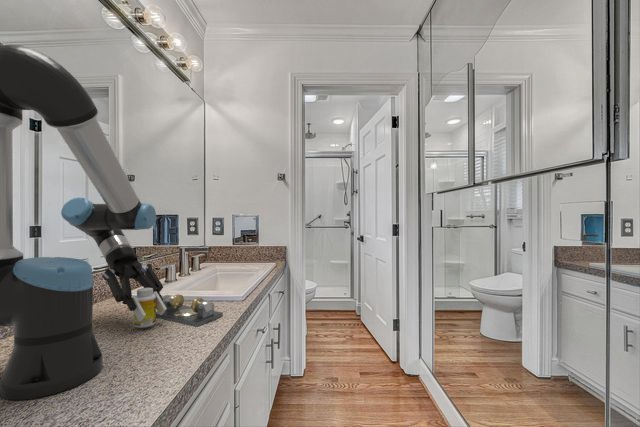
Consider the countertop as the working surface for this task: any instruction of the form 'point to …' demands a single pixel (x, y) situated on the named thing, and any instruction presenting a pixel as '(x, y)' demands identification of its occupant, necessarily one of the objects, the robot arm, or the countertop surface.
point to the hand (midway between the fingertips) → (153, 314)
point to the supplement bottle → (146, 308)
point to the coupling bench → (188, 311)
